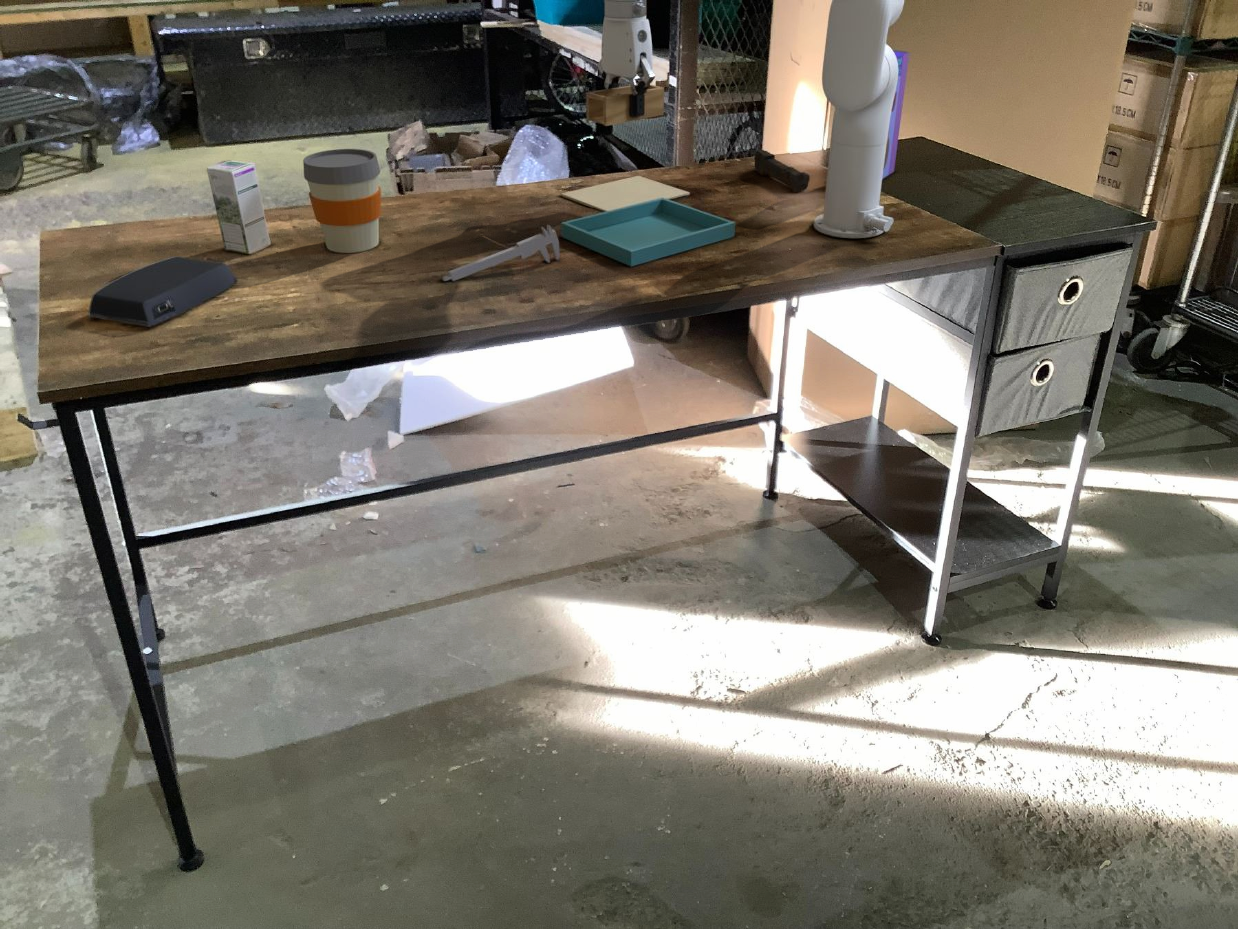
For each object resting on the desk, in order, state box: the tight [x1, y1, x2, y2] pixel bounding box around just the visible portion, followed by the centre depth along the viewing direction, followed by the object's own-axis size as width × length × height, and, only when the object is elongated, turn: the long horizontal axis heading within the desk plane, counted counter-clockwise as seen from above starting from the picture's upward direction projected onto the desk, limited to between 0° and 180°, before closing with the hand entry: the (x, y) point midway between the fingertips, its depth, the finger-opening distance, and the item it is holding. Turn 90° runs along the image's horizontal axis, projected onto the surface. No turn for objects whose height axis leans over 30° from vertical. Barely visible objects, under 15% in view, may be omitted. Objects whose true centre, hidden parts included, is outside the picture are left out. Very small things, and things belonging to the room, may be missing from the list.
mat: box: [560, 175, 691, 212], centre depth 202 cm, size 16×20×1 cm
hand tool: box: [753, 149, 810, 194], centre depth 209 cm, size 19×4×5 cm, turn 19°
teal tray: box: [560, 198, 736, 267], centre depth 180 cm, size 20×24×3 cm
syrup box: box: [206, 159, 272, 255], centre depth 174 cm, size 6×6×14 cm
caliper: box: [441, 224, 561, 282], centre depth 165 cm, size 20×1×6 cm, turn 118°
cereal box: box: [882, 49, 910, 181], centre depth 204 cm, size 17×5×24 cm, turn 147°
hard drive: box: [88, 255, 239, 328], centre depth 156 cm, size 13×19×4 cm
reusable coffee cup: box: [302, 148, 382, 254], centre depth 175 cm, size 12×13×15 cm
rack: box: [585, 83, 665, 127], centre depth 192 cm, size 6×14×5 cm, turn 129°
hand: (625, 112), depth 193 cm, fingers closed on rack, 6 cm apart
